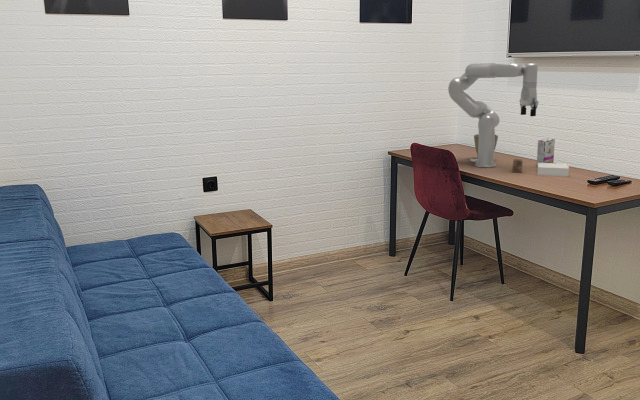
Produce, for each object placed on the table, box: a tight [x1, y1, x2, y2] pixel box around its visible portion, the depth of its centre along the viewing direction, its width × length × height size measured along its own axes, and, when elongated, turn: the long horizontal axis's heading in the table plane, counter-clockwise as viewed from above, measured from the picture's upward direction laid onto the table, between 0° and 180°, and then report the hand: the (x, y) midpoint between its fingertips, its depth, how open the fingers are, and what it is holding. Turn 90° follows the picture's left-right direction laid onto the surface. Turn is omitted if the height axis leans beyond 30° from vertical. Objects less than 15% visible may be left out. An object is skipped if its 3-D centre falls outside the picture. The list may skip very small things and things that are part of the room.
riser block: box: [536, 162, 570, 178], centre depth 331 cm, size 16×14×5 cm
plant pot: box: [473, 133, 499, 157], centre depth 375 cm, size 15×15×16 cm
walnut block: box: [512, 158, 524, 174], centre depth 337 cm, size 5×5×7 cm
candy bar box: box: [536, 138, 556, 169], centre depth 349 cm, size 11×5×16 cm, turn 129°
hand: (528, 115), depth 338 cm, fingers open, 9 cm apart
